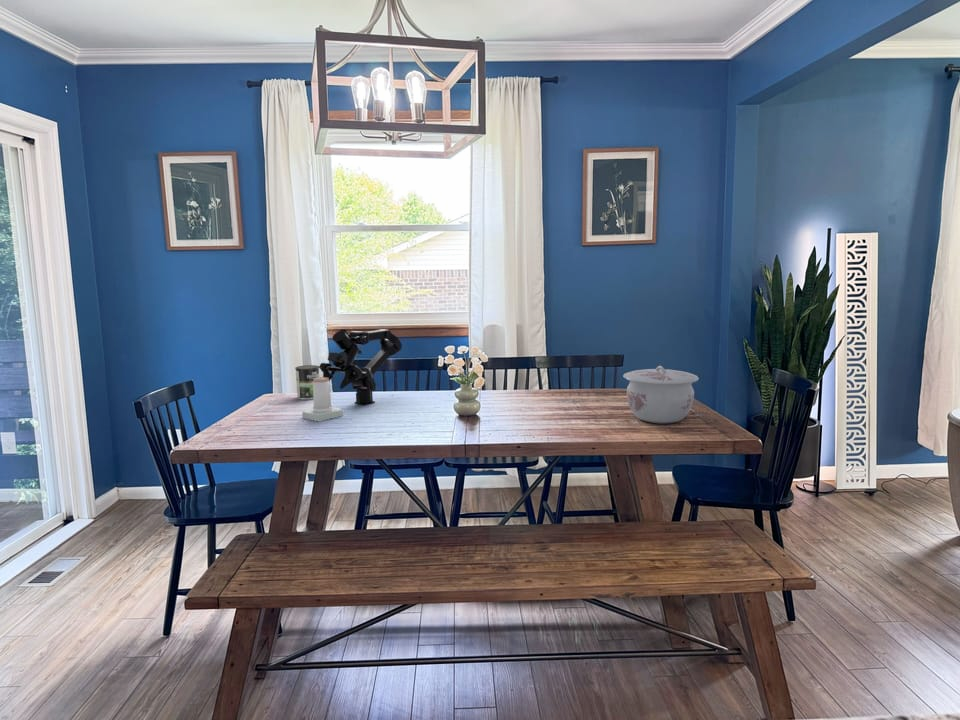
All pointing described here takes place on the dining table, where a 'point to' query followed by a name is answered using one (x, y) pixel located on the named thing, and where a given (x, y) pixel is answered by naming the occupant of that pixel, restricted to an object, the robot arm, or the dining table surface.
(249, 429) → the dining table surface
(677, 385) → the chamber pot
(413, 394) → the dining table surface
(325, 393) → the cream jar
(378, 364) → the robot arm
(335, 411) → the sage block
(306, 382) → the coffee can
